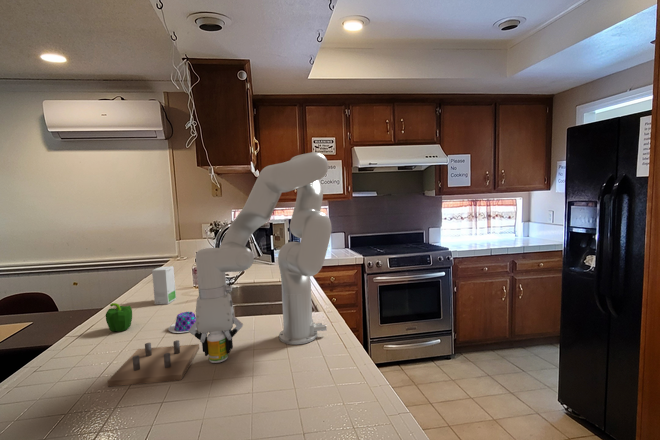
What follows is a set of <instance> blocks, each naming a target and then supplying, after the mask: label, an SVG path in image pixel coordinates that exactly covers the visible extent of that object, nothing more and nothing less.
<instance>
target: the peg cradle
mask: <svg viewBox="0 0 660 440" xmlns="http://www.w3.org/2000/svg"><path fill="white" fill-rule="evenodd" d="M199 350H200V344H198V343H196V344H187V345H186V344H185V345H180V340H174V341H173V346H172V345H171V346H161V347H152V343H151V342H146V343H144V348H138V349H137V350H136V351H135V352H134V353H133V354H132V355H131V356H130V357H129V358H128V359H126V361H125V362H124V363H123V364H122V365H121V366H120V367H119V369H118V370H117V371H116V372H115V373H113V375H112V376H111V377H110V378H109V379H107V387H118V386H128V385H129V386H131V385H140V384H142V385H143V384H152V383H153V384H154V383H162V382H174V381H182V380H183V378H184V377H185V375H186V373H187V371H188V369H189V367H190V366H191V364H192V362H193V361H194V359H195V357H196V355H197V354H198V352H199Z"/></svg>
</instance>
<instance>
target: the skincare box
mask: <svg viewBox="0 0 660 440" xmlns="http://www.w3.org/2000/svg"><path fill="white" fill-rule="evenodd" d="M151 274H152V284H153V285H152V286H153V299H154V305H169V304H171V303H172V302H173V301H175V300H176V299H177V293H176V282H175V268H174V266H173V265H170V266H160V267H157V268H156V267H155V269H152V270H151Z"/></svg>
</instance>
